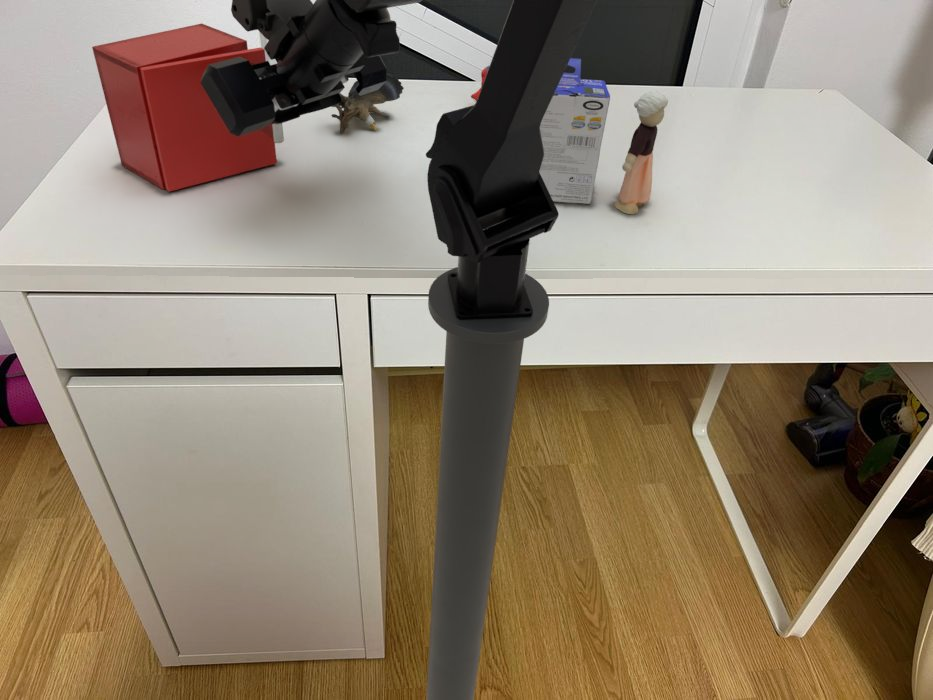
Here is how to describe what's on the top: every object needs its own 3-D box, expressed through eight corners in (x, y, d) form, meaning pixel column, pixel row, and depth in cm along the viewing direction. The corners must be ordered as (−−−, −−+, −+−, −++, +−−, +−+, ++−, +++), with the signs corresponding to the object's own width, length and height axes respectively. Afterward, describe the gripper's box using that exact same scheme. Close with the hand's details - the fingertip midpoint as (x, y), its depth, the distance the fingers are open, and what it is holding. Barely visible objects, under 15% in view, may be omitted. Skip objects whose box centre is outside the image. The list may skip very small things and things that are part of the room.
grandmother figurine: (643, 221, 80) (670, 107, 72) (608, 214, 81) (631, 100, 73) (652, 192, 86) (679, 82, 78) (620, 185, 87) (642, 76, 79)
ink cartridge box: (588, 183, 86) (610, 57, 77) (593, 206, 82) (618, 74, 73) (504, 178, 86) (517, 50, 77) (505, 200, 82) (518, 68, 73)
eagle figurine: (376, 137, 90) (416, 102, 95) (342, 84, 87) (386, 51, 92) (339, 152, 96) (379, 119, 101) (307, 103, 93) (350, 71, 98)
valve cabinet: (260, 154, 87) (246, 40, 79) (163, 190, 79) (136, 67, 71) (219, 134, 91) (201, 23, 83) (121, 166, 83) (91, 46, 75)
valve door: (299, 180, 82) (289, 63, 74) (189, 211, 76) (164, 86, 67) (273, 160, 86) (261, 47, 78) (165, 188, 79) (139, 67, 71)
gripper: (364, -61, 70) (299, 31, 82) (192, -33, 59) (146, 69, 71) (423, 45, 71) (350, 120, 84) (266, 93, 60) (208, 172, 72)
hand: (269, 118), depth 78 cm, fingers closed
